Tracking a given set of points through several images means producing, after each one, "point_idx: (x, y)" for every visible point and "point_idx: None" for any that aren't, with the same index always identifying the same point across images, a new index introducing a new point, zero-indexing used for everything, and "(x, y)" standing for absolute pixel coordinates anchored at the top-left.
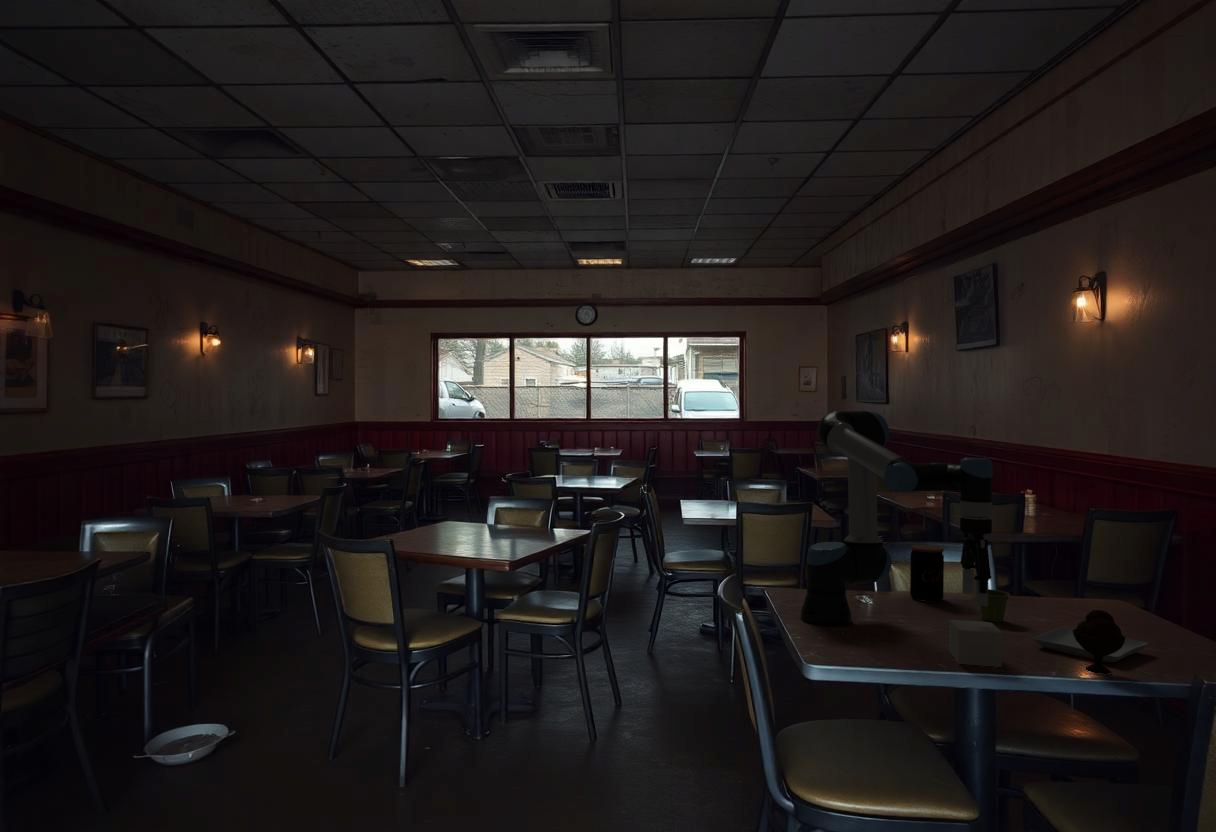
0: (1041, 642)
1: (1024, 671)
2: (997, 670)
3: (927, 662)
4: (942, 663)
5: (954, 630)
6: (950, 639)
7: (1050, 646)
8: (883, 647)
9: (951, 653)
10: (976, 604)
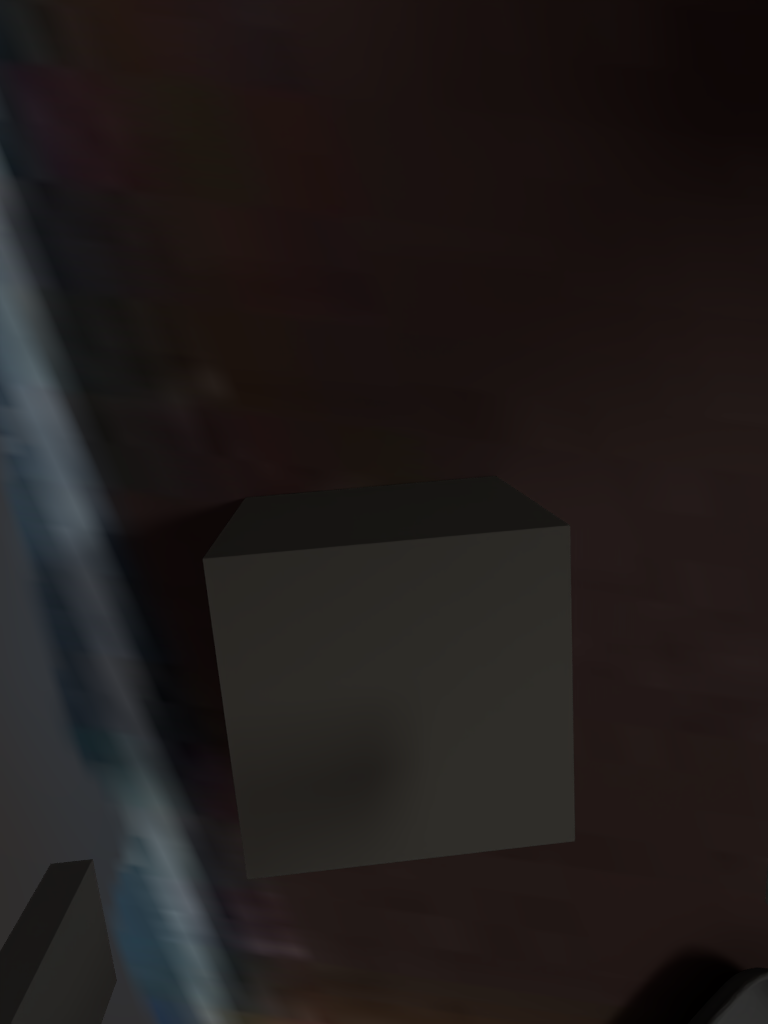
0: (724, 997)
1: None
2: (214, 698)
3: (222, 307)
4: (236, 403)
5: (364, 532)
6: (482, 496)
7: (694, 1019)
8: (496, 17)
9: (432, 483)
10: (43, 878)
